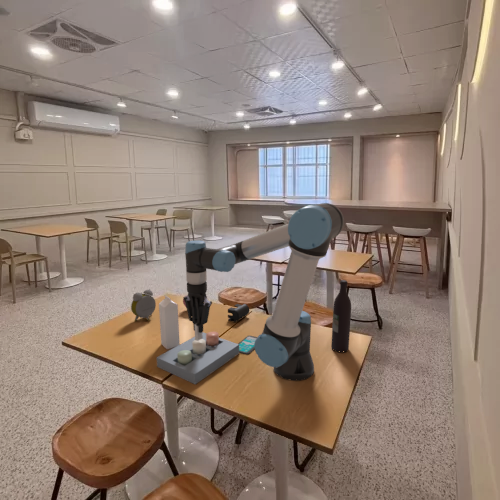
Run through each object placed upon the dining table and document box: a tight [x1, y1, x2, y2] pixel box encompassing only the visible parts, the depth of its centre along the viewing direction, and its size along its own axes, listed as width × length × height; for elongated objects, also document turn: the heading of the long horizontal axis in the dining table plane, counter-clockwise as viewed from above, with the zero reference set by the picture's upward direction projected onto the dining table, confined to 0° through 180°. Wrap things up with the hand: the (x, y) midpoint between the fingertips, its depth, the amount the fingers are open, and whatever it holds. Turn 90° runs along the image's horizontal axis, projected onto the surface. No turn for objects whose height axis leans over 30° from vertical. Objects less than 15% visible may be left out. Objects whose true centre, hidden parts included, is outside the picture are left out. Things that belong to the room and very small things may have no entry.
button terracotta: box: [206, 331, 220, 346], centre depth 139 cm, size 5×5×4 cm
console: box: [156, 331, 240, 385], centre depth 134 cm, size 20×26×4 cm
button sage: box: [177, 350, 192, 366], centre depth 127 cm, size 5×5×4 cm
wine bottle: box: [330, 279, 352, 353], centre depth 139 cm, size 7×7×30 cm
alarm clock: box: [130, 288, 157, 322], centre depth 171 cm, size 12×7×15 cm, turn 141°
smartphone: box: [237, 335, 258, 356], centre depth 146 cm, size 9×1×15 cm
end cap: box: [227, 303, 250, 323], centre depth 173 cm, size 10×7×7 cm
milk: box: [158, 295, 181, 350], centre depth 144 cm, size 6×6×22 cm
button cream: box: [192, 339, 206, 355], centre depth 133 cm, size 5×5×4 cm
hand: (198, 338), depth 132 cm, fingers closed
